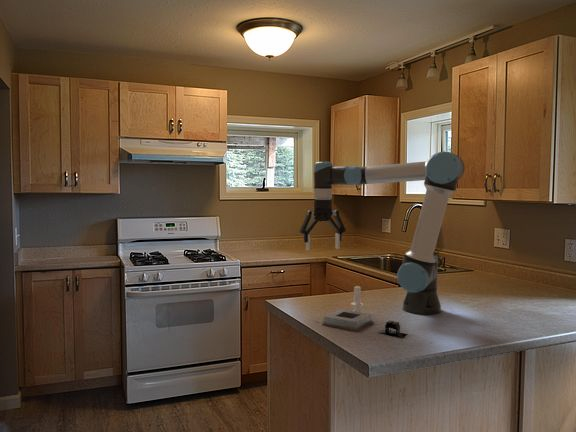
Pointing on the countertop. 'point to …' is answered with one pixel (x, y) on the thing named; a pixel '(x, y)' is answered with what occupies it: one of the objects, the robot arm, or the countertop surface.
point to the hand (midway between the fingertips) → (322, 249)
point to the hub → (348, 320)
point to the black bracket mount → (389, 332)
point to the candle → (357, 299)
